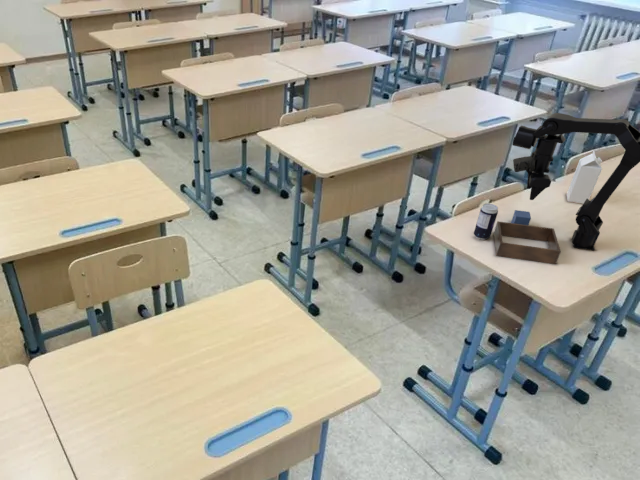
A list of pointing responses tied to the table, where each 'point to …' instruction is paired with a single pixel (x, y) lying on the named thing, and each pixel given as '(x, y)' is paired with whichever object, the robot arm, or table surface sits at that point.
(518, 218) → the block
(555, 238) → the wooden tray
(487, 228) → the beverage can
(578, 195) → the milk carton
